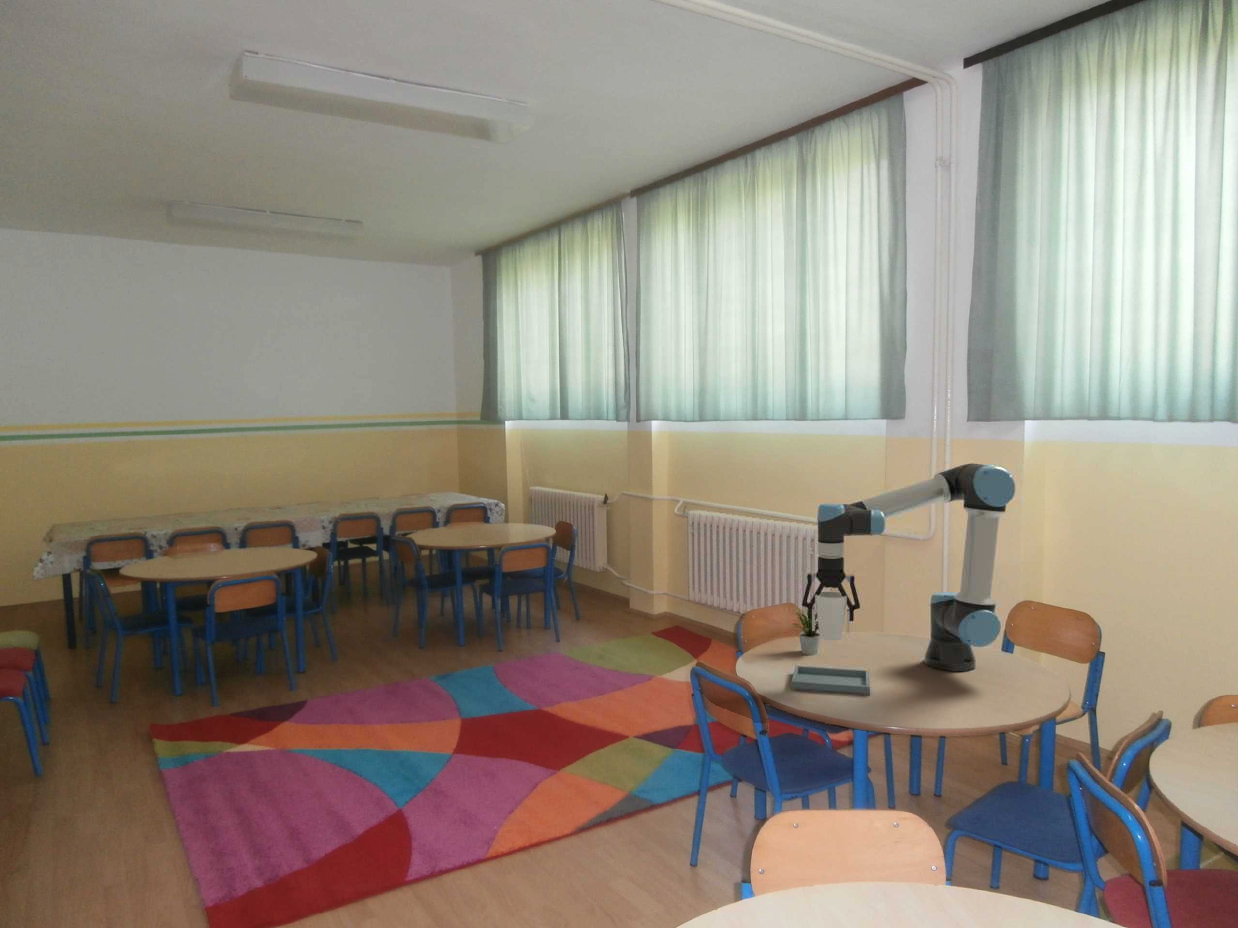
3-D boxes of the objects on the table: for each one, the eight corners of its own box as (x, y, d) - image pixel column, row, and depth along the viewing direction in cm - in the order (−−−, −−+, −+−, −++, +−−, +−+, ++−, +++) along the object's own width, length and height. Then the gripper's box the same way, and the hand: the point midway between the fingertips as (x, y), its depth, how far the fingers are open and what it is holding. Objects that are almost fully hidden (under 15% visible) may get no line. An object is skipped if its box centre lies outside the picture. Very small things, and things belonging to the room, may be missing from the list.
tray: (869, 678, 254) (869, 670, 254) (869, 695, 239) (869, 686, 239) (795, 673, 260) (795, 665, 260) (791, 689, 245) (791, 681, 245)
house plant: (788, 659, 275) (788, 610, 274) (781, 647, 289) (781, 600, 288) (832, 658, 274) (831, 609, 273) (823, 647, 288) (823, 600, 287)
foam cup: (844, 633, 253) (844, 591, 252) (849, 641, 243) (849, 597, 243) (812, 633, 254) (812, 591, 253) (816, 641, 244) (816, 597, 244)
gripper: (869, 555, 248) (869, 629, 249) (793, 552, 254) (794, 625, 255) (869, 559, 240) (869, 636, 242) (791, 557, 246) (792, 631, 248)
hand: (830, 630), depth 248 cm, fingers closed on foam cup, 9 cm apart
